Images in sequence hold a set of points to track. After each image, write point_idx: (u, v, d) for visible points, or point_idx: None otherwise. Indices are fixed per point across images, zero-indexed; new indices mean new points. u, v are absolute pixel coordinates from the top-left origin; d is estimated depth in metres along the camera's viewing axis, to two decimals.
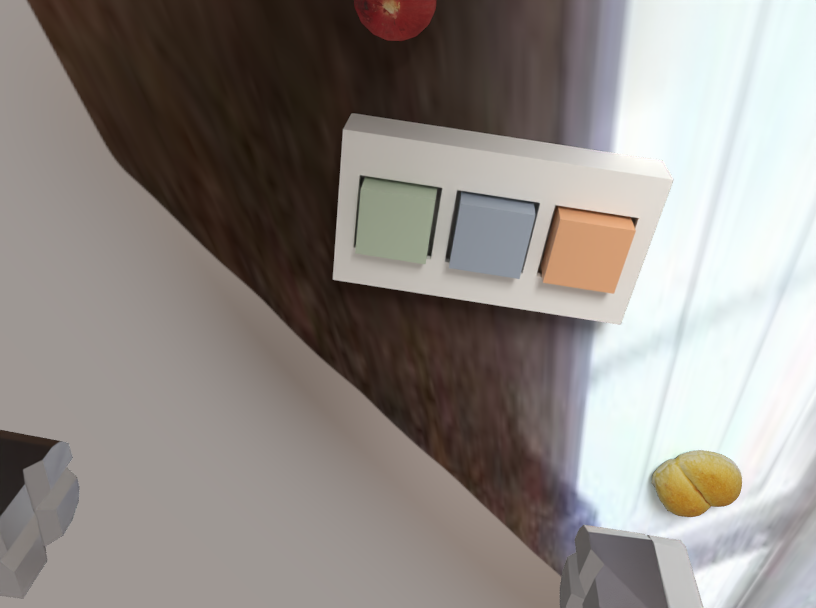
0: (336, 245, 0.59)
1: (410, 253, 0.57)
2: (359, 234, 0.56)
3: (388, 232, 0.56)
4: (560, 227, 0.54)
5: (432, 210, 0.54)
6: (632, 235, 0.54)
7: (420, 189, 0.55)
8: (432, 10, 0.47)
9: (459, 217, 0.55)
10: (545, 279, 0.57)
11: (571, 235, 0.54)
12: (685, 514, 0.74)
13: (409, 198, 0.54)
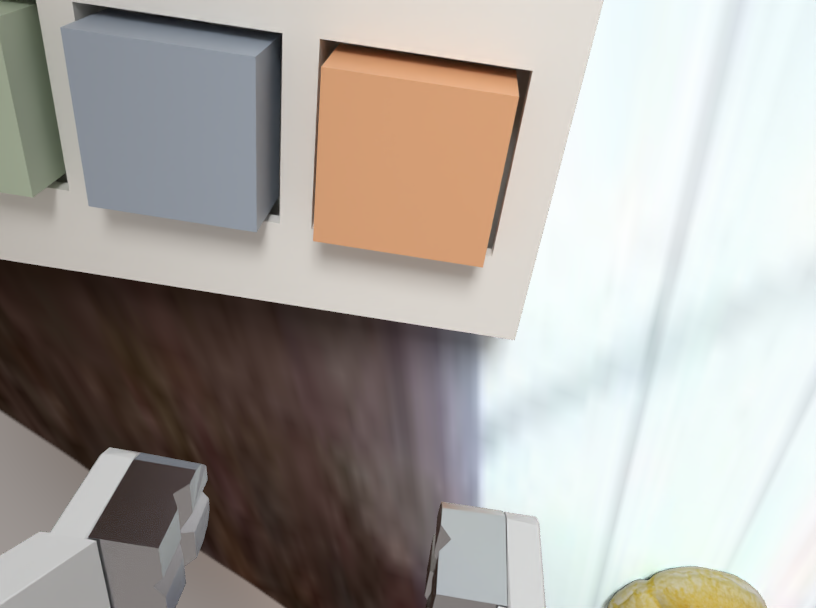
0: None
1: None
2: None
3: None
4: (325, 91, 0.21)
5: None
6: (510, 110, 0.21)
7: None
8: None
9: (70, 68, 0.21)
10: (317, 233, 0.24)
11: (356, 113, 0.21)
12: None
13: None
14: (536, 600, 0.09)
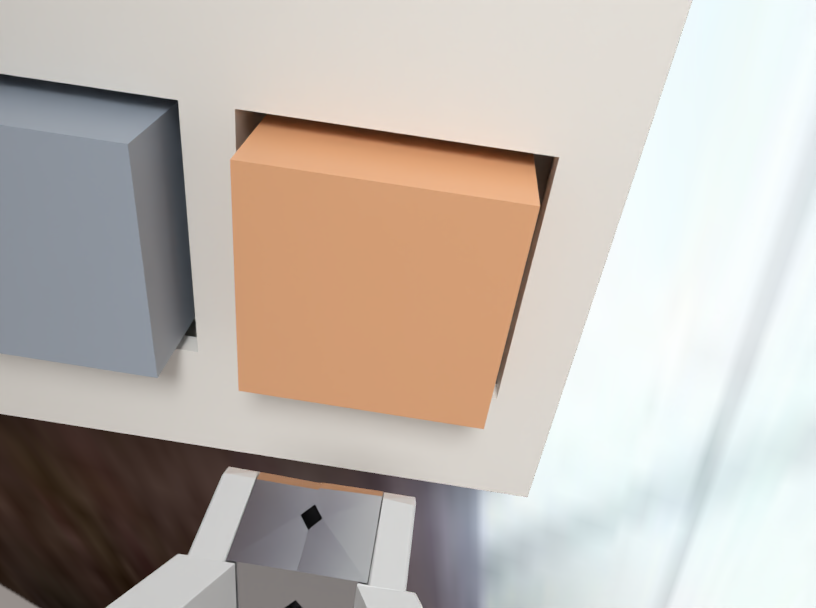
0: None
1: None
2: None
3: None
4: (240, 195, 0.13)
5: None
6: (527, 226, 0.13)
7: None
8: None
9: None
10: (243, 380, 0.16)
11: (289, 225, 0.14)
12: None
13: None
14: (398, 577, 0.09)
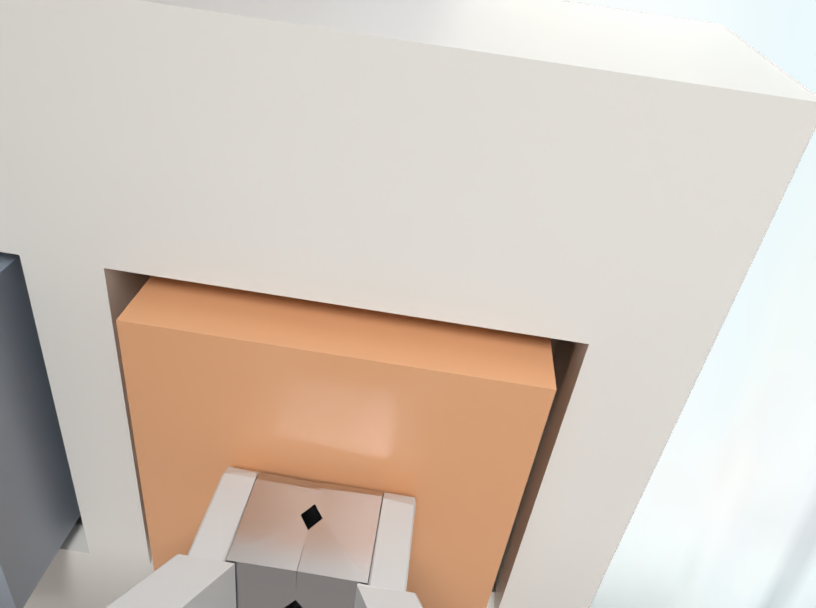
0: None
1: None
2: None
3: None
4: (134, 363, 0.10)
5: None
6: (537, 412, 0.09)
7: None
8: None
9: None
10: None
11: (206, 401, 0.10)
12: None
13: None
14: (398, 577, 0.09)
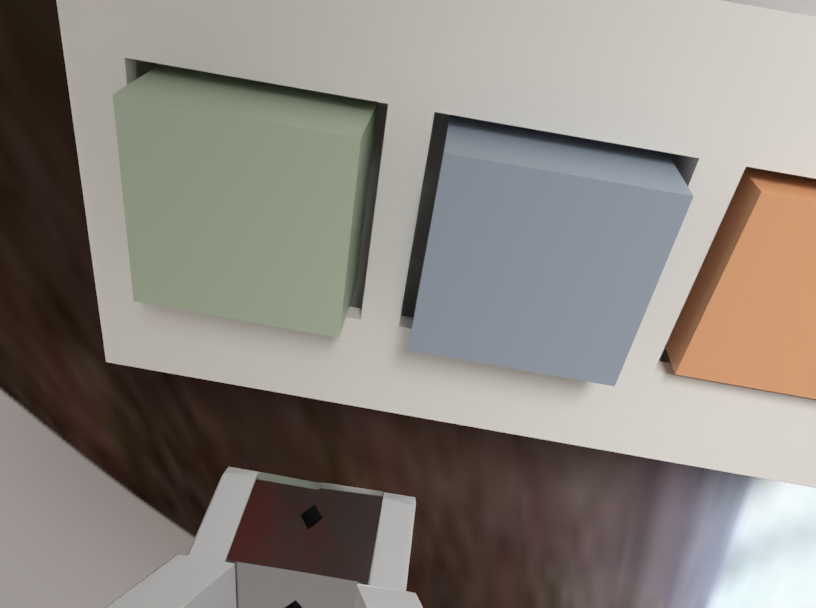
0: (97, 274, 0.21)
1: (293, 306, 0.19)
2: (135, 246, 0.18)
3: (221, 241, 0.18)
4: (756, 218, 0.17)
5: (352, 174, 0.17)
6: None
7: (317, 107, 0.17)
8: None
9: (440, 199, 0.17)
10: (683, 366, 0.20)
11: (785, 243, 0.18)
12: None
13: (276, 133, 0.16)
14: (398, 578, 0.09)
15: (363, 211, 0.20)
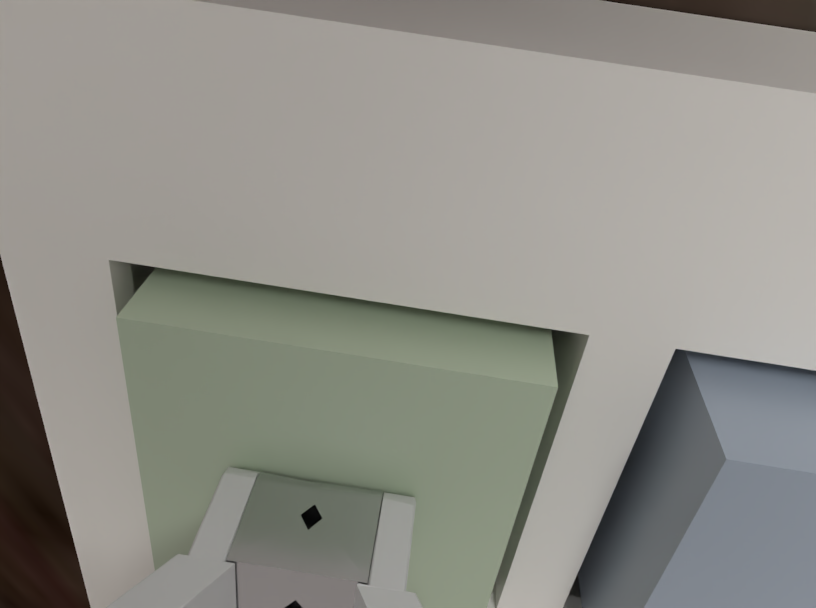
0: (80, 544, 0.13)
1: None
2: (158, 517, 0.11)
3: None
4: None
5: (534, 437, 0.10)
6: None
7: None
8: None
9: (700, 523, 0.09)
10: None
11: None
12: None
13: (405, 377, 0.09)
14: (398, 578, 0.09)
15: None
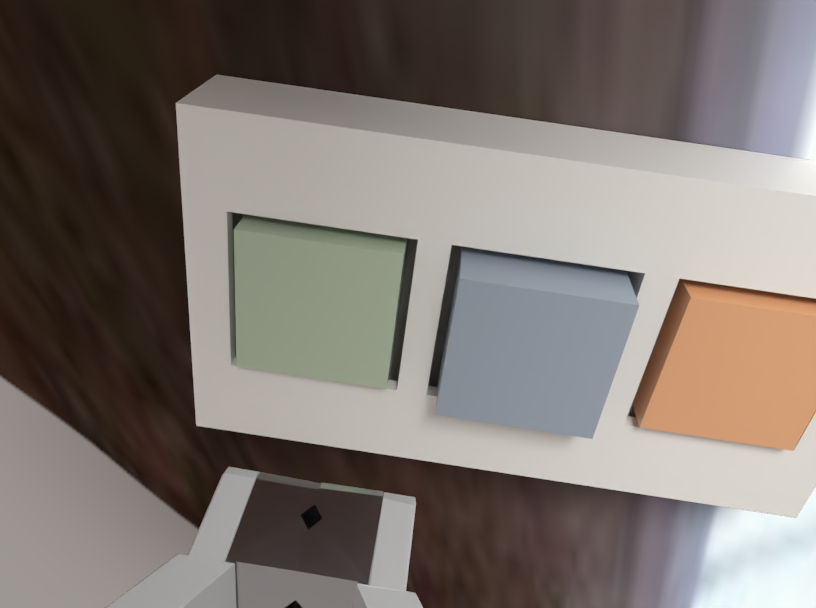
0: (194, 360, 0.28)
1: (353, 367, 0.26)
2: (241, 328, 0.26)
3: (303, 323, 0.25)
4: (689, 315, 0.24)
5: (397, 278, 0.24)
6: None
7: None
8: None
9: (458, 309, 0.23)
10: (645, 421, 0.26)
11: (712, 331, 0.24)
12: None
13: (345, 252, 0.24)
14: (398, 577, 0.09)
15: (401, 295, 0.27)
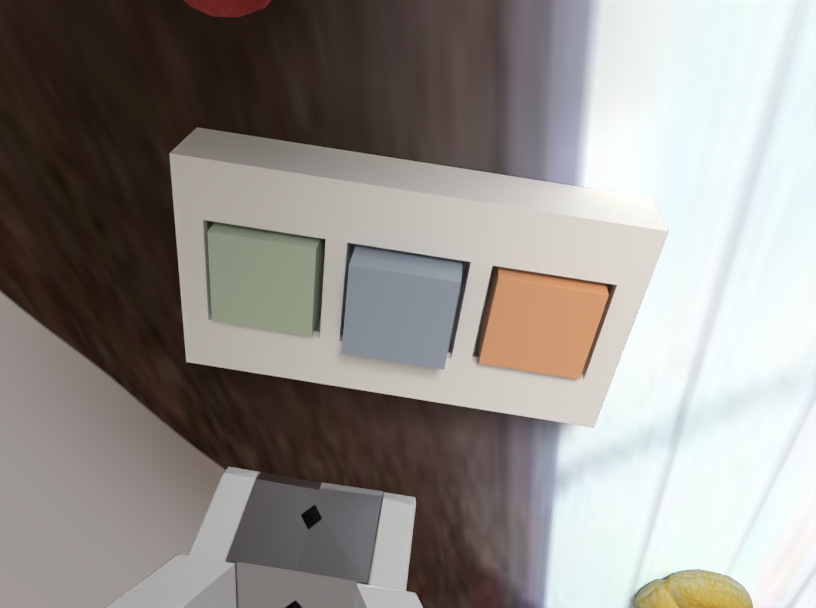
0: (184, 316, 0.41)
1: (289, 321, 0.40)
2: (214, 295, 0.39)
3: (254, 292, 0.39)
4: (499, 289, 0.37)
5: (313, 263, 0.37)
6: (603, 301, 0.37)
7: None
8: None
9: (349, 284, 0.37)
10: (481, 359, 0.40)
11: (515, 300, 0.37)
12: None
13: (279, 247, 0.37)
14: (398, 577, 0.09)
15: (322, 274, 0.41)
